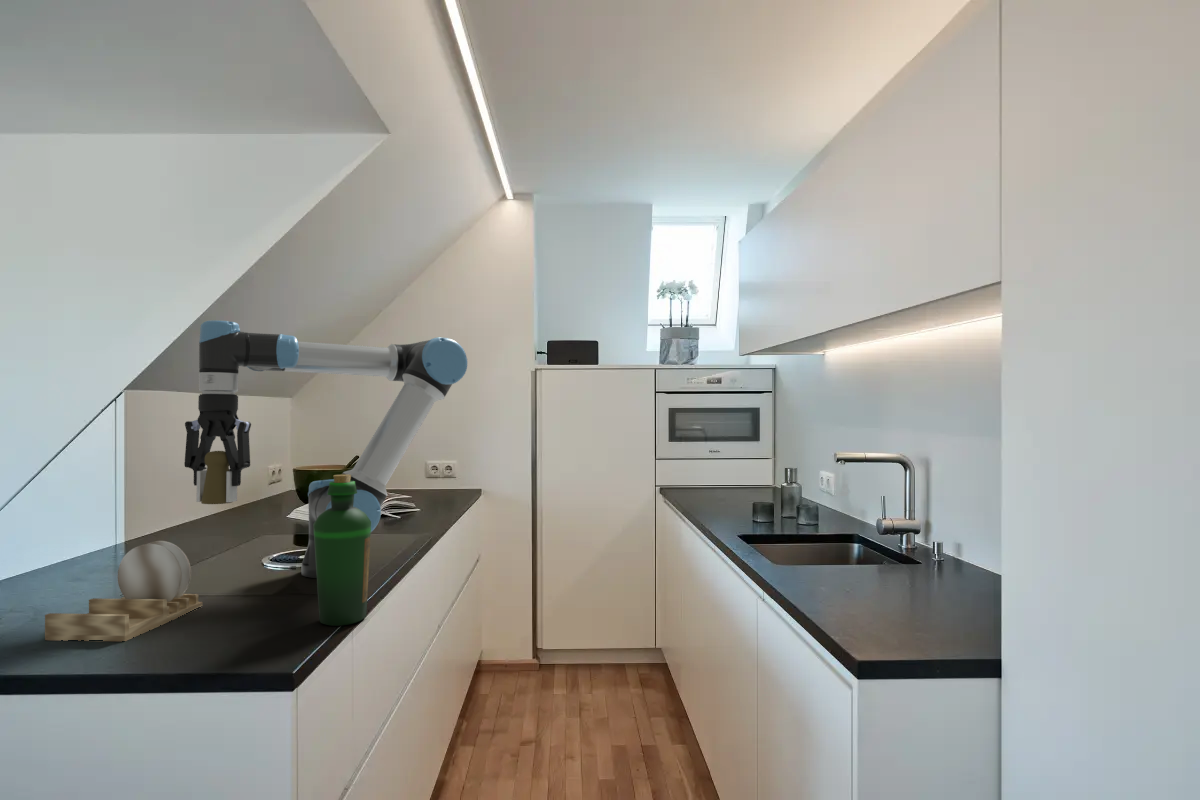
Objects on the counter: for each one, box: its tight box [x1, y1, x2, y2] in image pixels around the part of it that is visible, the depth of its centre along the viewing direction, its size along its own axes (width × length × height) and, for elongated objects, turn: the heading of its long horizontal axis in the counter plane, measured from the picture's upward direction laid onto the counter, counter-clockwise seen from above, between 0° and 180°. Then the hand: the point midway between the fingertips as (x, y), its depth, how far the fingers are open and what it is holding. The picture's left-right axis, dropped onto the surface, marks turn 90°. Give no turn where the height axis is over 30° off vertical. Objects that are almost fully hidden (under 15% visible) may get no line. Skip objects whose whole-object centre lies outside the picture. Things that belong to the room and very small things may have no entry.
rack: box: [44, 540, 204, 642], centre depth 138 cm, size 15×22×14 cm
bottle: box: [313, 473, 372, 627], centre depth 138 cm, size 11×11×28 cm
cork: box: [200, 450, 233, 505], centre depth 154 cm, size 6×6×11 cm
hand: (216, 501), depth 153 cm, fingers closed on cork, 6 cm apart
